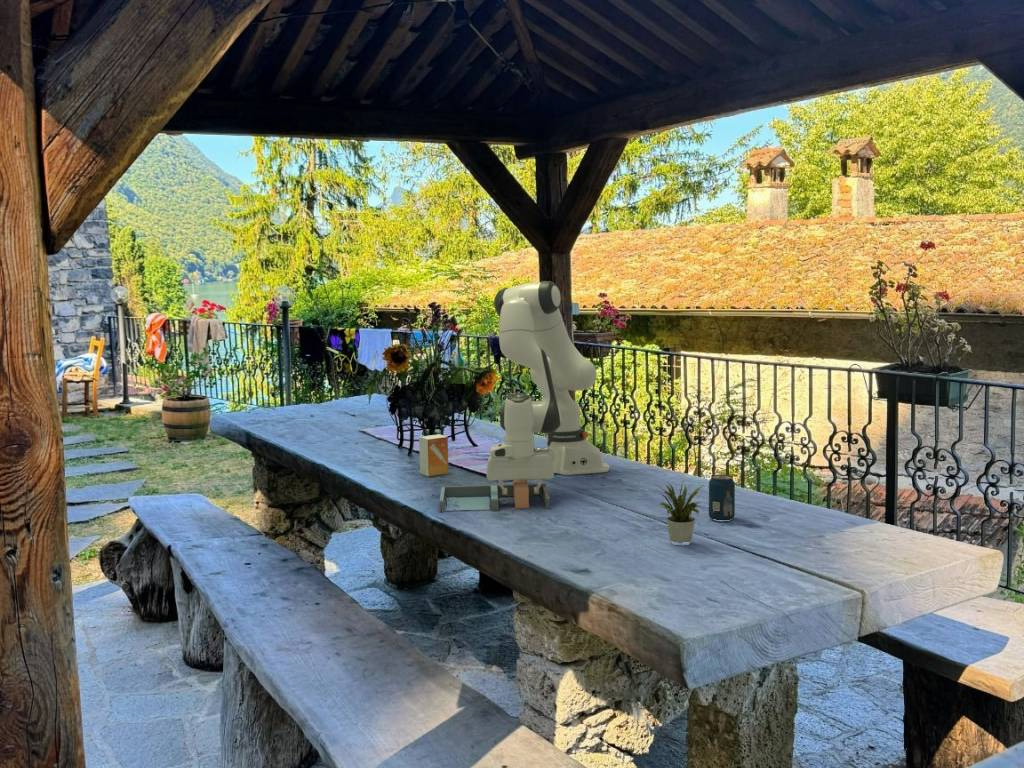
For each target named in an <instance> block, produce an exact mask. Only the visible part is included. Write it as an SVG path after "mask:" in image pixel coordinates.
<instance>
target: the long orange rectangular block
mask: <svg viewBox="0 0 1024 768" xmlns="http://www.w3.org/2000/svg"><path fill="white" fill-rule="evenodd" d="M512 481H513V483H512V484H513V485H514V496H513V500H514V506H515V509H529V508H530V500H529V499H530V498H529V497H530V496H529V488H528V484H529V483H528V480H512Z"/></svg>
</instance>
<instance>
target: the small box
mask: <svg viewBox="0 0 1024 768" xmlns="http://www.w3.org/2000/svg"><path fill="white" fill-rule="evenodd" d="M418 445H419V447H418V449H419V473H420V474H421V475H423V476H425V477H433V476H440V475H446V474H447V475H448V474H449V471H450V470H449V438H448V436H446V435H442V434H439V433H437V434H432V435H431V434H429V435H425V436H424V435H423V436H418Z"/></svg>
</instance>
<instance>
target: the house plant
mask: <svg viewBox="0 0 1024 768" xmlns="http://www.w3.org/2000/svg"><path fill="white" fill-rule="evenodd" d="M684 481H685V479H683V481H682V482H681V486H680V490H679V495H678V496H676V493H675V489H674V488H673V485H672V484H671V483H669V482H667V481H666V483H665V487H666V488H667V489H668V491H666V490H664V488H663V487H661V485H658V484H655V483H653V485H655V486H657V487H659V488H660V489H661V491H662V492H664V493H665V494H662V493H660V495H661V497H664V499H665V500H666V501H667V503H666V502H659V504H658V506H661V507H659V508H662V509H663V508H664V509H666V510H667V512H666V513H667V517H666V523H667V524H666V526H667V530H668V536H669V542H670V541H673V542H678V543H683V542H690V541H691V540H692V539H693V533H694V526H695V521H696V518H695V517H693V516H692V512H695V513H696V514H697V515H699V513H700V511H699V509H697V508H698V507H700V505H698V504H700V502H699V501H698V502H692V499H694V497H695V496H696V495H697V494H699V493H700V491H699V490H700V489H702V488H703V487H705V484H703V485H701V486H699V487H697V488H696V489H694V491H693V492H692V493H691V494H690V495H689V497H688V499H687V500H686V497H687V493H688V492H687V491H688V488H689V487H690V485H689V486H687V484H686V483H685V482H684ZM684 483H685V484H684ZM649 484H650V485H651V483H650V482H649ZM683 484H684V489H683ZM682 490H683V491H682ZM669 514H670V516H668V515H669ZM692 541H693V540H692ZM692 541H691V542H692Z"/></svg>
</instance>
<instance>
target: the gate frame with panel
mask: <svg viewBox="0 0 1024 768" xmlns="http://www.w3.org/2000/svg"><path fill="white" fill-rule="evenodd" d="M527 484H528V488H529V497H530V496H542V497H543V500H544V505H545V509H546V510H549V509H550V508H551V500H550V499H551V497H550V495H549V491H548V488H547V484H546V483H543V482H542V484H541V486H540V488H539V494H534V487H537V485H538V483H527ZM502 485H503V486H504V488H507V495H502V489H501V487H500V485H499V484H486V485H485V484H480V485H478V484H477V485H452V486H451V485H450V486H449V485H447V486H441V489H440V495H439V512H440V511H443V510H444V511H445V504H446V501H447V500H448V499H449V500H451V501H452V502H451V501H450V502H451V503H452V504H453V503H455V501H458V502H457V503H458V504H457V503H456V504H457V505H459V507H460V508H456V507H454V509H455V508H456V510H458V509H459V510H475V511H476V510H480V511H490V510H491V512H492V511H493V512H494V511H499V498H501V497H502V498H503V497H514V485H513V483H511V484H502ZM445 497H447V498H445ZM450 497H456V498H450ZM452 499H453V500H452ZM444 503H445V504H444ZM448 503H449V502H448ZM451 503H450V504H451ZM450 506H452V505H450ZM452 507H453V506H452ZM444 511H443V512H444ZM475 511H474V512H475Z"/></svg>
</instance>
